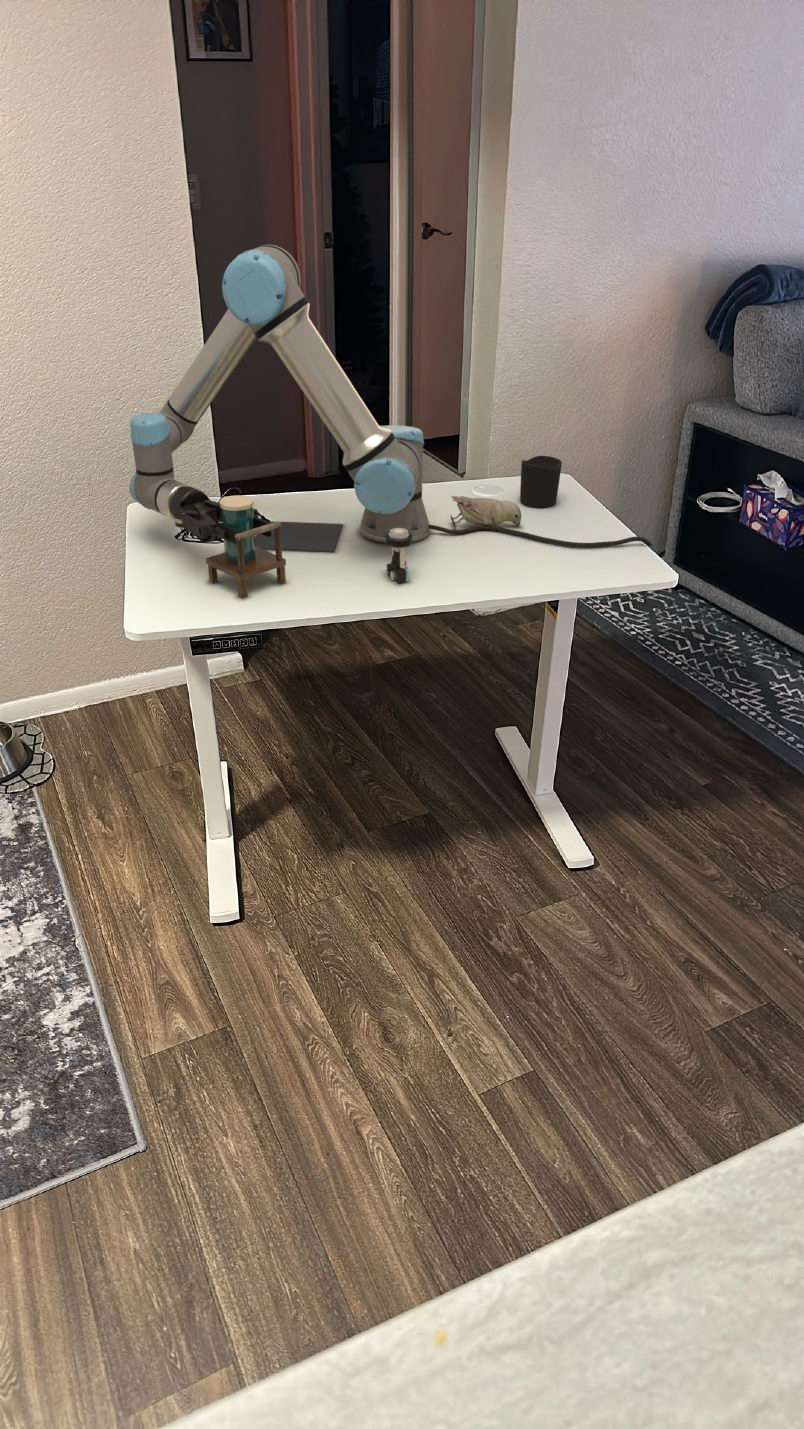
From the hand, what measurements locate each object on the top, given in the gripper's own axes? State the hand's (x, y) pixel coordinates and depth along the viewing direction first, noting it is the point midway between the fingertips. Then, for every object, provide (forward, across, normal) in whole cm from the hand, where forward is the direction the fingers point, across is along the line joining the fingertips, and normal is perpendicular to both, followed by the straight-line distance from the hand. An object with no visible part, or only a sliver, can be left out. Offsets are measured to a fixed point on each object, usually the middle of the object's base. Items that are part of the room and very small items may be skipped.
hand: (255, 534), depth 179 cm
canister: (-5, 0, -6) cm, 8 cm away
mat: (-16, -23, -11) cm, 30 cm away
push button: (+15, -23, -11) cm, 29 cm away
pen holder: (+7, -79, -11) cm, 80 cm away
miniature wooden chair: (-4, 0, -11) cm, 12 cm away
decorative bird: (+9, -57, -11) cm, 59 cm away
